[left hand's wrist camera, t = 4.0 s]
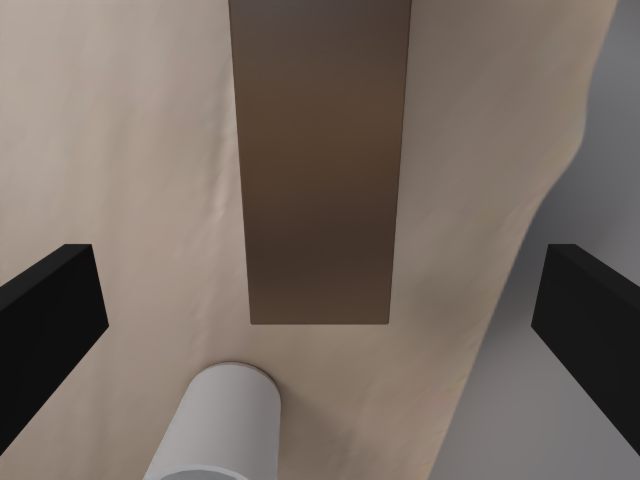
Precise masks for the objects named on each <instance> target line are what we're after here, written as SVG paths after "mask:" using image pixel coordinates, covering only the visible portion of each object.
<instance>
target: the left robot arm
mask: <svg viewBox="0 0 640 480" xmlns="http://www.w3.org/2000/svg"><path fill="white" fill-rule="evenodd" d="M108 327H109V323H108V319H107V314H106V309H105V305H104V300H103V295H102V291H101V286H100V281H99V277H98V272H97V267H96V263H95V258H94V253H93V249H92V244H64V245H63V246H61V247H60V248H58V249H57V250H55V251H54V252H52V253H51V254H49V255H48V256H46V257H45V258H43V259H42V260H40V261H39V262H37V263H36V264H34V265H33V266H31V267H30V268H28V269H27V270H25V271H24V272H22V273H21V274H19V275H18V276H16V277H15V278H13V279H12V280H10V281H9V282H7V283H6V284H4V285H3V286H1V287H0V456H1V455H2V454H3V452H4V451H5V450H6V449H7V448H8V446H9V445H10V444H11V443H12V442H13V440H14V439H15V438H16V437H17V436H18V434H19V433H20V432H21V431H22V430H23V428H24V427H25V426H26V425H27V424H28V422H29V421H30V420H31V419H32V418H33V417H34V415H35V414H36V413H37V412H38V411H39V409H40V408H41V407H42V406H43V405H44V403H45V402H46V401H47V400H48V399H49V397H50V396H51V395H52V394H53V393H54V391H55V390H56V389H57V388H58V387H59V385H60V384H61V383H62V382H63V381H64V380H65V378H66V377H67V376H68V375H69V374H70V372H71V371H72V370H73V369H74V368H75V366H76V365H77V364H78V363H79V362H80V360H81V359H82V358H83V357H84V356H85V354H86V353H87V352H88V351H89V350H90V348H91V347H92V346H93V345H94V344H95V343H96V341H97V340H98V339H99V338H100V337H101V335H102V334H103V333H104V332H105V331H106V329H107V328H108ZM531 327H532V328H533V329H534V331H535V332H536V333H537V334H538V335H539V337H540V338H541V339H542V340H543V341H544V342H545V344H546V345H547V346H548V347H549V348H550V350H551V351H552V352H553V353H554V354H555V356H556V357H557V358H558V359H559V360H560V362H561V363H562V364H563V365H564V366H565V368H566V369H567V370H568V371H569V372H570V373H571V375H572V376H573V377H574V378H575V380H576V381H577V382H578V383H579V384H580V385H581V387H582V388H583V389H584V390H585V391H586V393H587V394H588V395H589V396H590V397H591V399H592V400H593V401H594V402H595V403H596V405H597V406H598V407H599V408H600V409H601V411H602V412H603V413H604V414H605V415H606V417H607V418H608V419H609V420H610V421H611V422H612V424H613V425H614V426H615V427H616V428H617V430H618V431H619V432H620V433H621V434H622V436H623V437H624V438H625V439H626V440H627V442H628V443H629V444H630V445H631V446H632V448H633V449H634V450H635V451H636V452H637V453H638V455H639V456H640V287H639V286H637V285H636V284H634V283H633V282H631V281H630V280H628V279H627V278H625V277H624V276H622V275H621V274H619V273H618V272H616V271H615V270H613V269H612V268H610V267H609V266H607V265H606V264H604V263H603V262H601V261H600V260H598V259H597V258H595V257H594V256H592V255H591V254H589V253H588V252H586V251H585V250H583V249H582V248H580V247H579V246H577V245H576V244H548V249H547V253H546V258H545V263H544V267H543V272H542V277H541V281H540V286H539V291H538V295H537V300H536V305H535V309H534V314H533V319H532V323H531Z"/></svg>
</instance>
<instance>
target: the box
mask: <svg viewBox="0 0 640 480" xmlns="http://www.w3.org/2000/svg"><path fill="white" fill-rule="evenodd" d="M411 2H412V0H228V3H229V17H230V32H231V46H232V61H233V75H234V89H235V104H236V118H237V133H238V147H239V162H240V176H241V191H242V205H243V220H244V234H245V249H246V263H247V278H248V292H249V307H250V321H251V324H388V323H389V313H390V299H391V285H392V271H393V257H394V243H395V228H396V214H397V200H398V186H399V172H400V158H401V144H402V130H403V115H404V101H405V87H406V73H407V59H408V45H409V31H410V17H411Z"/></svg>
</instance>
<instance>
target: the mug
mask: <svg viewBox="0 0 640 480" xmlns="http://www.w3.org/2000/svg"><path fill="white" fill-rule="evenodd" d="M280 414H281V399H280V393H279V391H278V389H277V387H276V385H275V383H274V382H273V381H272V380H271V379H270V378H269V376H268V375H267V374H265V373H264V372H262V371H261V370H259V369H258V368H256V367H253V366H251V365H248V364H245V363H238V362H224V363H218V364H215V365H212V366H209V367H207V368H206V369H204V370H202V371H201V372H199V373H198V374H197V375H196V376H195V377H194V378H193V379H192V381H191V382H190V384H189V386H188V388H187V391H186V393H185V395H184V397H183V399H182V401H181V403H180V405H179V407H178V409H177V411H176V413H175V415H174V417H173V419H172V421H171V423H170V425H169V427H168V429H167V431H166V433H165V435H164V437H163V439H162V441H161V443H160V445H159V447H158V449H157V451H156V453H155V455H154V457H153V460H152V462H151V464H150V466H149V468H148V470H147V472H146V474H145V476H144V478H143V480H277V472H278V452H279V433H280Z"/></svg>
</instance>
